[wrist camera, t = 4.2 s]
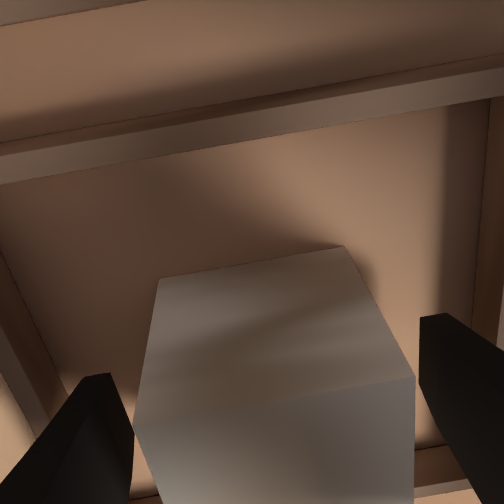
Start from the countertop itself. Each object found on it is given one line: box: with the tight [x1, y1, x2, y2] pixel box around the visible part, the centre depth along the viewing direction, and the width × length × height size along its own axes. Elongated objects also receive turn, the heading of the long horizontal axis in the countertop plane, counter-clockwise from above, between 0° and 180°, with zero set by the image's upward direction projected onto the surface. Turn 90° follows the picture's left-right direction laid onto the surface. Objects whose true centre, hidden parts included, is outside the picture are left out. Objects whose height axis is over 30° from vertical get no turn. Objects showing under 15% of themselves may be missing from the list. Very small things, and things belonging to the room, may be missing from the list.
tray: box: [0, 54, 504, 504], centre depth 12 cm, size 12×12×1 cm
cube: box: [132, 246, 416, 504], centre depth 10 cm, size 4×4×4 cm
